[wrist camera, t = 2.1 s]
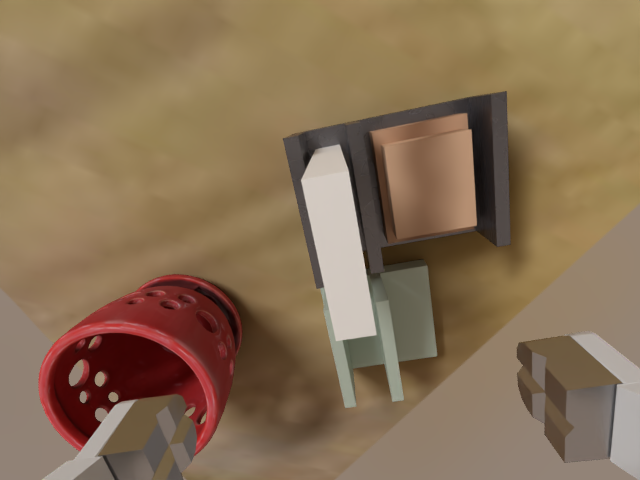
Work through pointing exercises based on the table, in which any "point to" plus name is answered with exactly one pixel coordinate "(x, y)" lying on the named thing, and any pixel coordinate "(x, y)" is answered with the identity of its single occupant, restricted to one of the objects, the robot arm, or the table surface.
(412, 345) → the sheet stand
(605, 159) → the table surface
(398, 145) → the offcut upper
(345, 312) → the tall sheet
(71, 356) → the plant pot
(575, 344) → the robot arm
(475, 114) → the offcut rack
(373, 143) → the offcut lower
